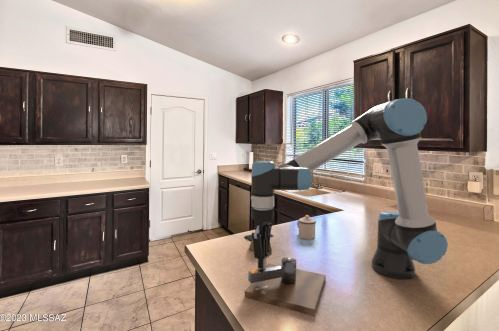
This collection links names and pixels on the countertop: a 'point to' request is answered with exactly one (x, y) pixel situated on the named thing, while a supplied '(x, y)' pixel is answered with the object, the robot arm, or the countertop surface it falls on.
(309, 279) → the base board
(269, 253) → the rock
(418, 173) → the robot arm
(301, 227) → the cream lidded jar
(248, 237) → the phone
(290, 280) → the grey mallet
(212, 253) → the countertop surface
